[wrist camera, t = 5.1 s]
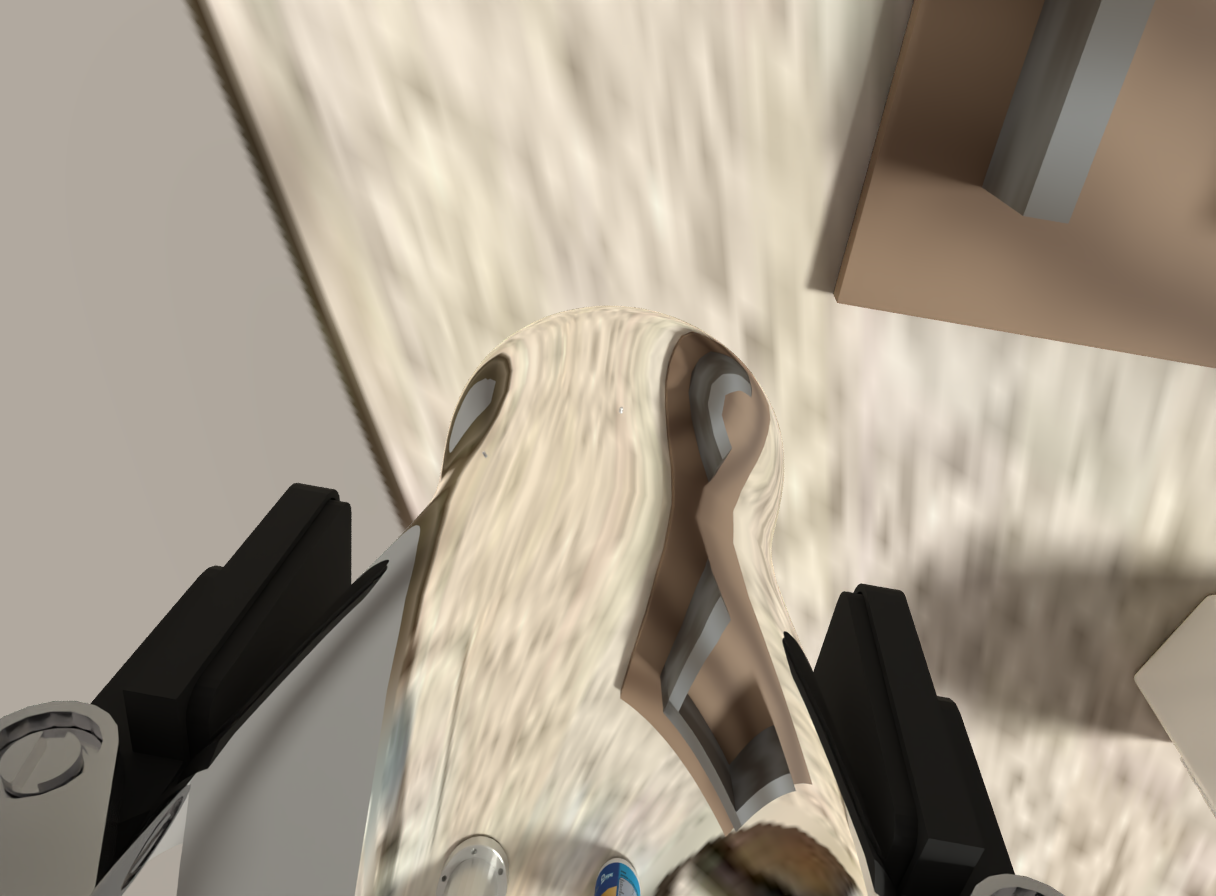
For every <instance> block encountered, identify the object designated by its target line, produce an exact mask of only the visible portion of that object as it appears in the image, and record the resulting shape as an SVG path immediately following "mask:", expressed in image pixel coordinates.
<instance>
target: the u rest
mask: <svg viewBox="0 0 1216 896" xmlns="http://www.w3.org/2000/svg"><path fill="white" fill-rule="evenodd" d="M833 294H834V296H835V299H836V301H837V303H841V304H847V305H853V306H858V307H864V308H870V309H876V310H882V311H887V312H893V313H899V314H905V315H911V316H916V317H922V318H928V319H934V320H939V321H945V322H951V323H957V324H963V325H968V326H974V327H980V328H986V329H992V330H997V331H1003V332H1009V333H1015V334H1020V335H1026V336H1032V337H1038V338H1044V339H1049V340H1055V341H1061V342H1067V343H1073V344H1078V345H1084V346H1090V347H1096V348H1101V349H1107V350H1113V351H1119V352H1125V353H1130V354H1136V355H1142V356H1148V357H1154V358H1159V359H1165V360H1171V361H1177V362H1182V363H1188V364H1194V365H1200V366H1206V367H1211V368H1216V0H914V3H913V6H912V10H911V14H910V17H909V21H908V25H907V28H906V32H905V35H904V39H903V43H902V46H901V50H900V54H899V57H898V61H897V64H896V68H895V72H894V75H893V79H892V83H891V86H890V90H889V94H888V97H887V101H886V104H885V108H884V112H883V115H882V119H881V123H880V126H879V130H878V133H877V137H876V141H875V144H874V148H873V152H872V155H871V159H870V163H869V166H868V170H867V173H866V177H865V181H864V184H863V188H862V192H861V195H860V199H859V203H858V206H857V210H856V213H855V217H854V221H853V224H852V228H851V232H850V235H849V239H848V242H847V246H846V250H845V253H844V257H843V261H842V264H841V268H840V272H839V275H838V279H837V282H836V286H835V290H834V293H833Z"/></svg>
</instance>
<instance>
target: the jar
mask: <svg viewBox="0 0 1216 896" xmlns="http://www.w3.org/2000/svg"><path fill="white" fill-rule="evenodd" d="M1134 680H1135V683H1136V684H1137V686H1138V687H1139V689H1140V691H1141V692H1142V694H1143V696H1144V697H1145V699H1146V700H1147V702H1148V704H1149V705H1150V707H1151V708H1152V710H1153V712H1154V713H1155V715H1156V716H1157V718H1158V720H1159V721H1160V723H1161V724H1162V726H1163V728H1164V729H1165V731H1166V733H1167V734H1168V736H1169V737H1170V739H1171V741H1172V742H1173V744H1174V745H1175V747H1176V749H1177V750H1178V752H1179V753H1180V755H1181V758H1180V760H1181V762H1182V763H1183V765H1184V766H1185V768H1186V769H1187V771H1188V774H1189V775H1190V777H1191V779H1192V781H1193V782H1194V783H1195V785H1196V786H1197V787H1198V789H1199V791H1200V793H1201V795H1202V797H1203V799H1204V801H1205V802H1206V804H1207V805H1208V807H1209V809H1210V810H1211V812H1212V813H1213V815H1214V817H1215V818H1216V595H1209V596H1207V597H1206V598H1205V599H1204V600H1203V601H1202V602H1201V603H1200V604H1199V605H1198V606H1197V607H1196V609H1195V610H1194V611H1193V612H1192V613H1191V614H1190V615H1189V616H1188V617H1187V618H1186V619H1185V621H1184V622H1183V623H1182V624H1181V625H1180V626H1179V627H1178V628H1177V629H1176V630H1175V631H1174V633H1173V634H1172V635H1171V636H1170V637H1169V638H1168V639H1167V640H1166V641H1165V642H1164V644H1163V645H1162V646H1161V647H1160V648H1159V649H1158V650H1157V651H1156V652H1155V653H1154V654H1153V656H1152V657H1151V658H1150V659H1149V660H1148V661H1147V662H1146V663H1145V664H1144V665H1143V666H1142V668H1141V669H1140V670H1139V671H1138V672H1137V673H1136V674H1135V677H1134Z"/></svg>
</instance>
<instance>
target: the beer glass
mask: <svg viewBox="0 0 1216 896" xmlns="http://www.w3.org/2000/svg"><path fill="white" fill-rule="evenodd" d="M783 482H784V450H783V442H782V436H781V431H780V427H779V424H778V421H777V418H776V415H775V412H774V410H773V407H772V405H771V403H770V401H769V399H768V397H767V395H766V393H765V392H764V390H763V388H762V387H761V385H760V384H759V382H758V381H757V379H756V378H755V377H754V375H753V374H752V373H751V372H750V370H749V369H748V368H747V367H746V366H745V364H744V363H743V362H742V361H741V360H740V359H739V358H738V357H737V356H736V355H735V354H734V353H733V352H732V351H730V350H729V349H728V348H727V347H726V346H724V345H723V344H722V343H721V342H719V341H718V340H716V339H715V338H714V337H712V336H711V335H709V334H707V333H706V332H704V331H702V330H701V329H699V328H697V327H695V326H693V325H691V324H689V323H687V322H685V321H682V320H680V319H677V318H675V317H672V316H669V315H666V314H663V313H659V312H656V311H652V310H647V309H642V308H636V307H627V306H592V307H583V308H577V309H572V310H567V311H563V312H559V313H556V314H553V315H550V316H547V317H545V318H542V319H540V320H537V321H535V322H533V323H531V324H529V325H527V326H525V327H523V328H522V329H520V330H518V331H517V332H515V333H513V334H512V335H510V336H509V337H508V338H506V339H505V340H504V341H502V342H501V343H500V344H499V345H498V346H496V347H495V348H494V349H493V350H492V351H491V352H490V353H489V354H488V355H487V356H486V357H485V359H484V360H483V361H482V362H481V363H480V364H479V366H478V367H477V368H476V370H475V371H474V373H473V374H472V375H471V377H470V379H469V380H468V382H467V383H466V385H465V387H464V389H463V391H462V393H461V395H460V397H459V400H458V402H457V404H456V407H455V409H454V412H453V415H452V418H451V421H450V425H449V429H448V433H447V438H446V443H445V449H444V455H443V461H442V467H441V472H440V478H439V482H438V486H437V489H436V492H435V494H434V496H433V498H432V499H431V501H430V502H429V504H428V505H427V507H426V508H425V509H424V511H423V512H422V513H421V514H420V515H419V516H418V517H417V518H416V519H415V520H414V521H413V522H412V523H411V525H410V526H409V527H408V528H407V529H406V530H405V531H404V532H403V533H402V534H401V535H400V536H399V538H398V539H397V540H396V541H395V542H394V543H393V544H392V545H391V546H390V547H389V548H388V549H387V550H386V551H385V552H384V553H383V554H382V555H381V556H380V557H379V558H378V559H377V560H376V561H375V562H374V563H373V564H372V565H371V566H370V567H369V568H368V569H367V570H366V571H365V572H364V573H363V574H362V575H361V576H360V577H359V578H358V579H357V580H356V581H355V582H354V583H353V584H352V585H351V586H350V587H349V588H348V589H347V590H346V591H345V592H344V593H343V594H342V595H341V596H340V597H339V598H338V599H337V600H336V601H335V602H334V603H333V604H332V605H331V606H330V607H329V608H328V609H327V610H326V611H325V612H324V613H323V614H322V615H321V616H320V617H319V618H318V620H317V621H316V622H315V623H314V624H313V625H312V626H311V627H310V628H309V629H308V630H307V631H306V632H305V633H304V634H303V635H302V636H301V637H300V638H299V639H298V640H297V641H296V642H295V643H294V644H293V645H292V646H291V647H290V649H289V650H288V651H287V652H286V653H285V654H284V655H283V656H282V657H281V658H280V659H279V660H278V661H277V662H276V663H275V664H274V665H273V666H272V667H271V668H270V669H269V670H268V672H267V673H266V674H265V675H264V676H263V677H262V678H261V679H260V681H259V682H258V683H257V684H256V685H255V686H254V688H253V689H252V690H251V691H250V692H249V693H248V695H247V696H246V697H245V698H244V699H243V700H242V702H241V703H240V704H239V705H238V706H237V707H236V709H235V710H234V711H233V712H232V713H231V714H230V715H229V717H228V718H227V719H226V720H225V721H224V722H223V724H222V725H221V726H220V727H219V728H218V729H217V731H216V732H215V733H214V734H213V735H212V736H211V738H210V739H209V740H208V741H207V742H206V743H205V745H204V746H203V747H202V748H201V749H200V750H199V752H198V753H197V754H196V755H195V756H194V757H193V758H192V760H191V761H190V762H189V763H188V764H187V765H186V767H185V768H184V769H183V770H182V771H181V772H180V774H179V775H178V776H177V777H176V778H175V779H174V781H173V782H172V783H171V784H170V785H169V786H168V788H167V789H166V790H165V792H164V793H163V794H162V795H161V797H160V798H159V800H158V801H157V802H156V804H155V805H154V806H153V808H152V809H151V811H150V812H149V813H148V815H147V816H146V818H145V819H144V820H143V822H142V823H141V825H140V826H139V827H138V829H137V830H136V832H135V833H134V834H133V836H132V837H131V839H130V840H129V841H128V843H127V844H126V846H125V847H124V848H123V850H122V851H121V853H120V854H119V855H118V857H117V858H116V860H115V861H114V862H113V864H112V865H111V867H110V868H109V869H108V871H107V872H106V873H105V875H104V876H103V878H102V879H101V880H100V882H99V883H98V885H97V886H96V887H95V889H94V890H93V892H92V893H91V894H90V896H897V893H896V890H895V887H894V884H893V881H892V878H891V875H890V872H889V869H888V866H887V863H886V861H885V858H884V855H883V852H882V849H881V846H880V843H879V840H878V837H877V834H876V831H875V828H874V826H873V823H872V820H871V817H870V814H869V811H868V808H867V805H866V802H865V799H864V796H863V794H862V791H861V788H860V786H859V783H858V781H857V778H856V776H855V773H854V771H853V768H852V766H851V763H850V761H849V758H848V756H847V753H846V751H845V749H844V746H843V744H842V741H841V739H840V736H839V734H838V731H837V729H836V726H835V724H834V721H833V719H832V716H831V714H830V712H829V709H828V707H827V704H826V702H825V699H824V697H823V694H822V692H821V689H820V687H819V685H818V682H817V680H816V678H815V675H814V673H813V670H812V668H811V666H810V663H809V661H808V659H807V656H806V654H805V652H804V649H803V647H802V645H801V642H800V640H799V638H798V635H797V633H796V631H795V628H794V626H793V623H792V621H791V619H790V616H789V614H788V611H787V608H786V605H785V603H784V600H783V597H782V595H781V592H780V589H779V587H778V584H777V581H776V577H775V572H774V567H773V563H772V540H773V535H774V531H775V526H776V522H777V517H778V513H779V508H780V502H781V497H782V490H783Z"/></svg>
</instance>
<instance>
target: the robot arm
mask: <svg viewBox="0 0 1216 896" xmlns="http://www.w3.org/2000/svg"><path fill="white" fill-rule="evenodd" d="M350 586H351V506H350V504H349V503H347V502H341V501H340V499H339V494H338V492H337V491H336V490H334V489H329V488H323V487H317V486H311V485H306V484H301V483H294V484H293V485H291V486H290V487H289V488H288V490H287V491H286V492H285V493H284V494H283V496H282V497H281V498H280V499H279V500H278V502H277V503H276V504H275V506H274V507H273V508H272V509H271V510H270V511H269V513H268V514H267V515H266V516H265V517H264V519H263V520H262V521H261V522H260V524H259V525H258V526H257V527H256V528H255V530H254V531H253V532H252V533H251V535H250V536H249V537H248V538H247V539H246V540H245V542H244V543H243V544H242V545H241V547H240V548H239V549H238V550H237V551H236V553H235V554H234V555H233V556H232V558H231V559H230V560H229V561H228V562H227V564H226V565H225V566H224V567H221V566H212V567H209V568H208V569H206V570H205V571H204V572H203V573H202V574H201V575H200V576H199V577H198V578H197V580H196V581H195V582H194V583H193V584H192V585H191V587H190V588H189V589H188V590H187V591H186V592H185V593H184V595H183V596H182V597H181V598H180V599H179V601H178V602H177V603H176V604H175V605H174V606H173V608H172V609H171V610H170V611H169V612H168V613H167V615H166V616H165V617H164V618H163V619H162V620H161V622H160V623H159V624H158V625H157V627H155V629H154V630H153V631H152V632H151V633H150V635H149V636H148V637H147V638H146V639H145V640H144V642H143V643H142V644H141V645H140V646H139V647H138V649H137V650H136V651H135V652H134V653H133V655H132V656H131V657H130V658H129V659H128V660H127V662H126V663H125V664H124V665H123V666H122V667H121V669H120V670H119V671H118V672H117V673H116V674H115V676H114V677H113V678H112V679H111V680H110V682H109V683H108V684H107V685H106V686H105V687H104V688H103V690H102V691H101V692H100V693H99V694H98V695H97V697H96V698H95V699H94V700H93V701H92V703H91V704H88V703H83V702H78V701H52V702H48V703H43V704H39V705H33V706H29V707H26V708H24V709H21V710H19V711H16V712H14V713H11V714H9V715H6V716H4V717H3V718H1V719H0V896H90V894H91V893H92V892H93V890H94V889H95V887H96V886H97V885H98V883H99V882H100V880H101V879H102V878H103V876H104V875H105V873H106V872H107V871H108V869H109V868H110V867H111V865H112V864H113V862H114V861H115V860H116V858H117V857H118V855H119V854H120V853H121V851H122V850H123V848H124V847H125V846H126V844H127V843H128V841H129V840H130V839H131V837H132V836H133V834H134V833H135V832H136V830H137V829H138V827H139V826H140V825H141V823H142V822H143V820H144V819H145V818H146V816H147V815H148V813H149V812H150V811H151V809H152V808H153V806H154V805H155V804H156V802H157V801H158V800H159V798H160V797H161V795H162V794H163V793H164V792H165V790H166V789H167V788H168V786H169V785H170V784H171V783H172V782H173V781H174V779H175V778H176V777H177V776H178V775H179V774H180V772H181V771H182V770H183V769H184V768H185V767H186V765H187V764H188V763H189V762H190V761H191V760H192V758H193V757H194V756H195V755H196V754H197V753H198V752H199V750H200V749H201V748H202V747H203V746H204V745H205V743H206V742H207V741H208V740H209V739H210V738H211V736H212V735H213V734H214V733H215V732H216V731H217V729H218V728H219V727H220V726H221V725H222V724H223V722H224V721H225V720H226V719H227V718H228V717H229V715H230V714H231V713H232V712H233V711H234V710H235V709H236V707H237V706H238V705H239V704H240V703H241V702H242V700H243V699H244V698H245V697H246V696H247V695H248V693H249V692H250V691H251V690H252V689H253V688H254V686H255V685H256V684H257V683H258V682H259V681H260V679H261V678H262V677H263V676H264V675H265V674H266V673H267V672H268V670H269V669H270V668H271V667H272V666H273V665H274V664H275V663H276V662H277V661H278V660H279V659H280V658H281V657H282V656H283V655H284V654H285V653H286V652H287V651H288V650H289V649H290V647H291V646H292V645H293V644H294V643H295V642H296V641H297V640H298V639H299V638H300V637H301V636H302V635H303V634H304V633H305V632H306V631H307V630H308V629H309V628H310V627H311V626H312V625H313V624H314V623H315V622H316V621H317V620H318V618H319V617H320V616H321V615H322V614H323V613H324V612H325V611H326V610H327V609H328V608H329V607H330V606H331V605H332V604H333V603H334V602H335V601H336V600H337V599H338V598H339V597H340V596H341V595H342V594H343V593H344V592H345V591H346V590H347V589H348V588H349V587H350ZM813 673H814V675H815V678H816V680H817V682H818V685H819V687H820V689H821V692H822V694H823V697H824V699H825V702H826V704H827V707H828V709H829V712H830V714H831V716H832V719H833V721H834V724H835V726H836V729H837V731H838V734H839V736H840V739H841V741H842V744H843V746H844V749H845V751H846V753H847V756H848V758H849V761H850V763H851V766H852V768H853V771H854V773H855V776H856V778H857V781H858V783H859V786H860V788H861V791H862V794H863V796H864V799H865V802H866V805H867V808H868V811H869V814H870V817H871V820H872V823H873V826H874V828H875V831H876V834H877V837H878V840H879V843H880V846H881V849H882V852H883V855H884V858H885V861H886V863H887V866H888V869H889V872H890V875H891V878H892V881H893V884H894V887H895V890H896V893H897V896H1064V895H1063V894H1061V893H1060V892H1058V891H1057V890H1055V889H1054V888H1052V887H1051V886H1049V885H1046V884H1044V883H1041V882H1039V881H1037V880H1034V879H1032V878H1029V877H1026V876H1019V875H1015V873H1014V870H1013V867H1012V864H1011V861H1010V858H1009V855H1008V852H1007V849H1006V846H1005V843H1004V841H1003V838H1002V835H1001V832H1000V829H999V826H998V823H997V820H996V817H995V814H994V811H993V808H992V805H991V802H990V799H989V796H988V793H987V791H986V788H985V785H984V782H983V779H982V776H981V773H980V770H979V767H978V764H977V761H976V758H975V755H974V752H973V749H972V746H971V743H970V741H969V738H968V735H967V732H966V729H965V726H964V723H963V720H962V717H961V714H960V712H959V710H958V707H957V705H956V703H955V702H953V701H952V700H951V699H950V698H945V697H939V696H937V695H936V692H935V689H934V686H933V682H932V679H931V676H930V673H929V670H928V667H927V663H926V660H925V657H924V654H923V651H922V648H921V644H920V641H919V638H918V635H917V632H916V629H915V625H914V622H913V619H912V616H911V613H910V610H909V606H908V603H907V600H906V597H905V595H904V593H903V592H902V591H900V590H895V589H889V588H883V587H878V586H872V585H867V584H859V585H858V586H857V587H856V589H855V591H854V593H851V592H845V591H844V592H842V593H841V595H840V597H839V599H838V601H837V604H836V607H835V610H834V613H833V616H832V619H831V622H830V625H829V628H828V631H827V634H826V637H825V640H824V642H823V645H822V648H821V651H820V654H819V657H818V660H817V663H816V666H815V669H814V672H813Z"/></svg>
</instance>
